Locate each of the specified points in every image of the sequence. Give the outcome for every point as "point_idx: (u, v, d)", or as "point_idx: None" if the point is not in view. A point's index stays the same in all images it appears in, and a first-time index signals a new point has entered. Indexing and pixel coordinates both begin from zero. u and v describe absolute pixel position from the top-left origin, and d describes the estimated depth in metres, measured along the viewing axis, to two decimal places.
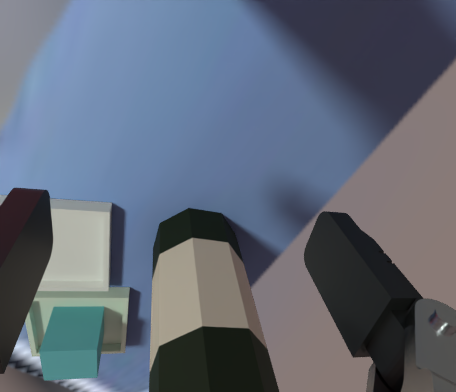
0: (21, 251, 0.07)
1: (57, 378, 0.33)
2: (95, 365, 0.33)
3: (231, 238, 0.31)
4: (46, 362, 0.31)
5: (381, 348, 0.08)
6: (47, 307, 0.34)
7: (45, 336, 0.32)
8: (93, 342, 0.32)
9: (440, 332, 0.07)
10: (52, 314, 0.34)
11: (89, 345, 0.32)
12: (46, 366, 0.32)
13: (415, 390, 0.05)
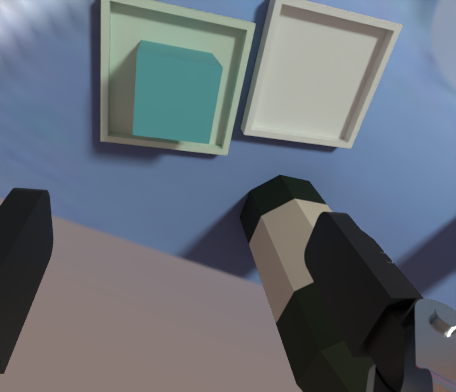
0: (21, 251, 0.07)
1: (139, 75, 0.19)
2: (168, 137, 0.22)
3: None
4: (192, 70, 0.20)
5: (381, 348, 0.08)
6: (211, 44, 0.24)
7: None
8: None
9: (440, 332, 0.07)
10: None
11: None
12: (180, 67, 0.19)
13: (414, 389, 0.05)
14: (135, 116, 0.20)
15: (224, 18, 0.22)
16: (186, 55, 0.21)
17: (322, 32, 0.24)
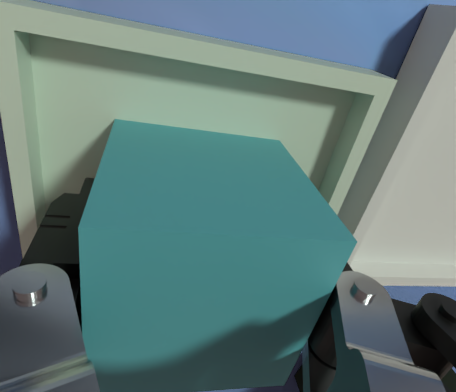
0: None
1: (93, 283, 0.06)
2: (183, 389, 0.08)
3: None
4: (263, 256, 0.06)
5: None
6: (280, 122, 0.10)
7: None
8: None
9: (355, 300, 0.07)
10: None
11: None
12: (228, 253, 0.06)
13: (348, 371, 0.05)
14: None
15: (325, 70, 0.09)
16: (235, 183, 0.07)
17: None
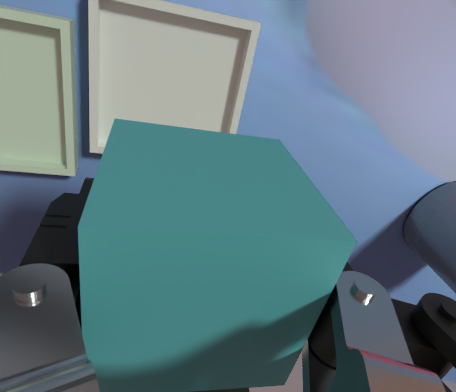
0: None
1: (92, 283, 0.06)
2: (183, 388, 0.08)
3: None
4: (263, 256, 0.06)
5: None
6: (25, 45, 0.19)
7: None
8: None
9: (355, 299, 0.07)
10: None
11: None
12: (228, 252, 0.06)
13: (348, 372, 0.05)
14: None
15: (25, 14, 0.18)
16: (235, 182, 0.07)
17: (166, 32, 0.20)
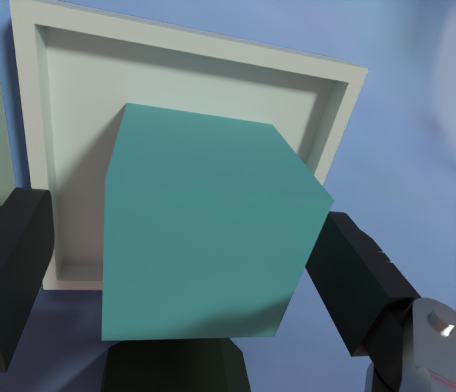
0: (23, 250, 0.07)
1: (114, 230, 0.07)
2: (186, 335, 0.09)
3: None
4: (255, 211, 0.07)
5: (379, 347, 0.08)
6: None
7: None
8: None
9: (438, 331, 0.07)
10: None
11: None
12: (226, 206, 0.07)
13: (413, 389, 0.05)
14: (107, 309, 0.08)
15: None
16: (232, 154, 0.09)
17: (181, 86, 0.11)
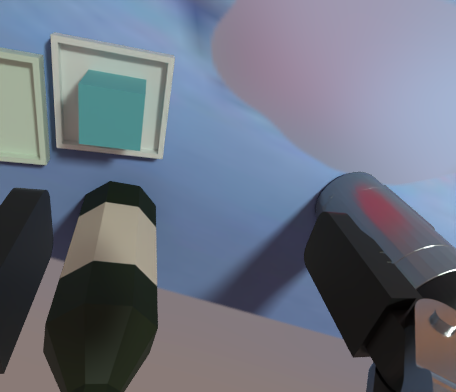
0: (21, 251, 0.07)
1: (81, 99, 0.26)
2: (107, 145, 0.28)
3: None
4: (121, 96, 0.26)
5: (381, 348, 0.08)
6: (9, 73, 0.28)
7: (145, 90, 0.28)
8: None
9: (440, 332, 0.07)
10: None
11: None
12: (112, 94, 0.26)
13: (415, 390, 0.05)
14: (80, 130, 0.27)
15: (8, 54, 0.27)
16: (120, 84, 0.27)
17: (108, 63, 0.29)
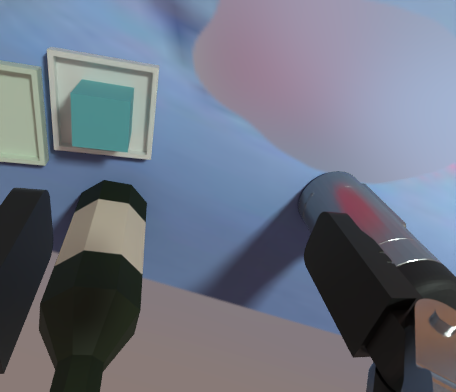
0: (21, 251, 0.07)
1: (73, 107, 0.29)
2: (97, 147, 0.31)
3: None
4: (109, 104, 0.29)
5: (381, 348, 0.08)
6: (10, 83, 0.32)
7: (131, 98, 0.31)
8: (128, 145, 0.33)
9: (440, 332, 0.07)
10: (133, 91, 0.33)
11: (128, 143, 0.32)
12: (101, 102, 0.29)
13: (414, 390, 0.05)
14: (73, 133, 0.30)
15: (10, 67, 0.30)
16: (108, 92, 0.31)
17: (99, 73, 0.32)
